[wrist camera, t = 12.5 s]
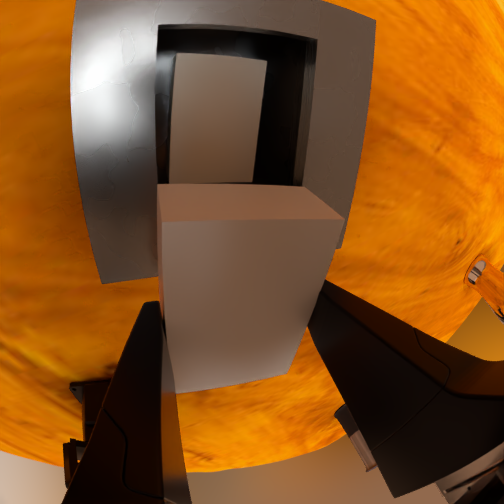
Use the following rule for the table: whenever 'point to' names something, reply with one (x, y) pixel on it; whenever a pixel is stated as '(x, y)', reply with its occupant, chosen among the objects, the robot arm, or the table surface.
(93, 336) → the table surface
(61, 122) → the table surface
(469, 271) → the beer glass
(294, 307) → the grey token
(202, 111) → the block
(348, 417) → the milk frother
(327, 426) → the table surface
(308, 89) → the grey hollow block
